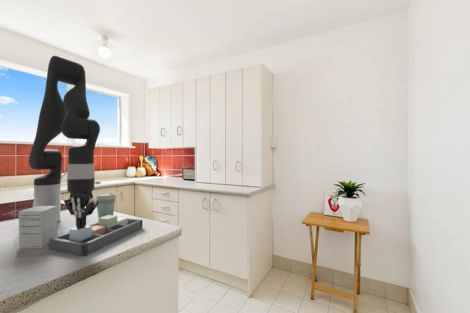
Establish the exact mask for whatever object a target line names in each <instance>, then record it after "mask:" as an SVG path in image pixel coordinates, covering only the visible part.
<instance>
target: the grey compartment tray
mask: <svg viewBox="0 0 470 313" xmlns="http://www.w3.org/2000/svg"><path fill="white" fill-rule="evenodd" d="M118 217H119V216H117V218H118ZM127 218H128V217H127ZM95 225H98V226H99V221H98V222H95V223H92V224H89V225H87V226H95ZM142 229H143V219H137V218H128V225H122V224H117V225H116V226H113V227H111V228H108V229H107V228H105V235H98V234H92V237H89V238H87V239H84V240H82V241H73V240H69V231H68V232H65V233H62V234H59V235H58V236H56V237H53V238H51V239H49V244H48V246H49V248H48V250H50V251H53V252H58V253H59V252H60V253H65V254H69V255H75V256H80V257H86V256H88V255H90V254H92V253H94V252H96V251H99V250H101V249H103V248H105V247H107V246H109V245H111V244H113V243H114V242H117V241H119V240H121V239H123V238H125V237H127V236H130V235H132V234H133V233H135V232H138V231H140V230H142Z"/></svg>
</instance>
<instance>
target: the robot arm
mask: <svg viewBox="0 0 470 313" xmlns="http://www.w3.org/2000/svg"><path fill="white" fill-rule="evenodd" d="M86 79H87V78H86V70H85V67H84V66H83V65H82V64H81V63H78V62H76V61H73V60H71V59H68V58H64V57H62V56H59V55H52V56H51V58H50V60H49V61H48V67H47V73H46V79H45V80H46V82H45V87H44V89H45V90H44V96H43V99H42V104H41V107H40V110H39V116H38V122H37V128H36V133H35V137H34V141H33V142H32V143H33V144H32V147H31V149H30V153H29V156H28V165H29V168H31V169H32V170H36V171H40V170H42V171H43V170H49V172H47V173H46V174H44V175H41V176H39V177H36V178H34V179H33V201H32V207H35V206H57V222H58V221H60V220H61V210H62V209H61V206H62V205H61V203H62V202H61V200H62V198H61V197H62V196H61V194H62V192H61V189H62V188H61V181H62V168H63V155H62V152H61V151H60V150H59V149H51V148H50V149H46V147H47V146H48V144H49V143H51V141H53V140H54V139H55V138H57V137H58V136H59V135H61V134H62V135H63V136H64V137H65V138H67V139H74V140H86V141H85V143H84V144H82V145H81V144H80V145H73V146H70V147H69V148H68V153H67V156H68V157H67V158H68V159H67V160H68V162H67V169H66V170H67V171H66V172H67V173H66V175H67V176H66V178H67V180H66V181H67V182H66V187H67V188H66V191H67V192H68V193H70V194H69V198H68V199H64V200H63V203H64V204H65V206H66V208H67V210H68V212H69V214H70V216H74V218H75V227H76V228H79V229H81V228H84V227H85V226H87V217H88V216H90V215H92V214H93V213H94V211H95V209H97V205H98V203H99V202H98V201H96V200H95V199H94V195H93V191H94V190H95V177H96V176H95V170H96V169H95V165H94V164H95V162H94V161H95V160H94V159H95V157H94V156H95V154H94V153H95V148H96V143H97V141H98V137H99V134H100V132H101V126H100V124H99V122H98V121H97V120H95V119H90V118H89V117H90V115H91V114H90V109H89V104H88V102H87V101H88V100H87V90H86V89H87V87H86V86H87V83H86V82H87V81H86ZM59 82H60V83H65V84H67V85H71V86H73V87H72V88H70V89H69V90H68V91H66V93H65V94H64V96H63V99H62V96H61V94H60V91H59V88H58V83H59Z"/></svg>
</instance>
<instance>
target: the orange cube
mask: <svg viewBox="0 0 470 313" xmlns="http://www.w3.org/2000/svg"><path fill="white" fill-rule="evenodd" d="M92 234H98V235H105V226H98V225H95V226H92Z"/></svg>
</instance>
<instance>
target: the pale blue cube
mask: <svg viewBox="0 0 470 313" xmlns="http://www.w3.org/2000/svg"><path fill="white" fill-rule="evenodd" d="M68 232H69V240H73V241H82V240H84V239H87V238H89V237H92V226H88V225H86V226H85V227H84V228H81V229H79V228H76V226H75V227H72V228H69V230H68Z"/></svg>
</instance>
